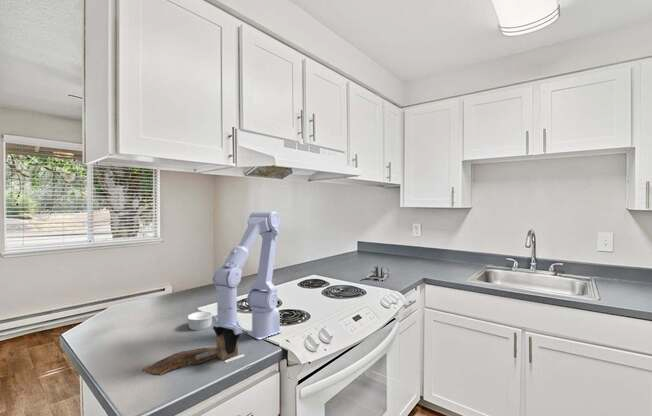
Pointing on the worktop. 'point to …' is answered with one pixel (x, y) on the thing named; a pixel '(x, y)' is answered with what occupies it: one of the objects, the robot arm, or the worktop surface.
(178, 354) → the wooden fragment
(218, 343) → the mallet
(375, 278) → the bike brake
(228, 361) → the strip
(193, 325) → the ramekin
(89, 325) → the worktop surface
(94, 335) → the worktop surface
